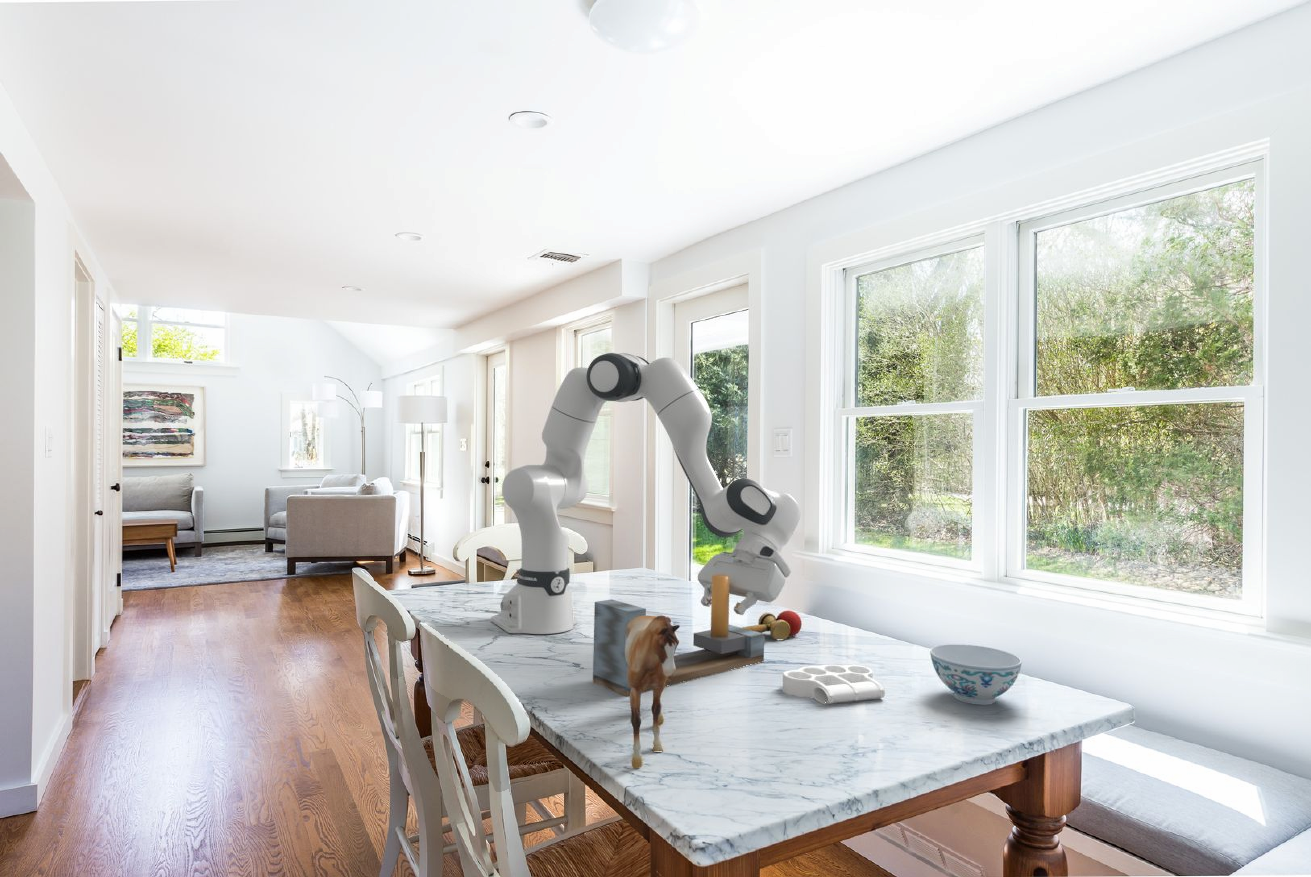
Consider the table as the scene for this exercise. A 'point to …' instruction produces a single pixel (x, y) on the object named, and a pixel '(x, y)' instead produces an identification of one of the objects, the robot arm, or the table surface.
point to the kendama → (778, 624)
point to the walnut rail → (689, 666)
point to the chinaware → (975, 671)
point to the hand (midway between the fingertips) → (720, 608)
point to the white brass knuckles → (833, 683)
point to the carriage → (719, 621)
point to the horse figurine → (649, 670)
